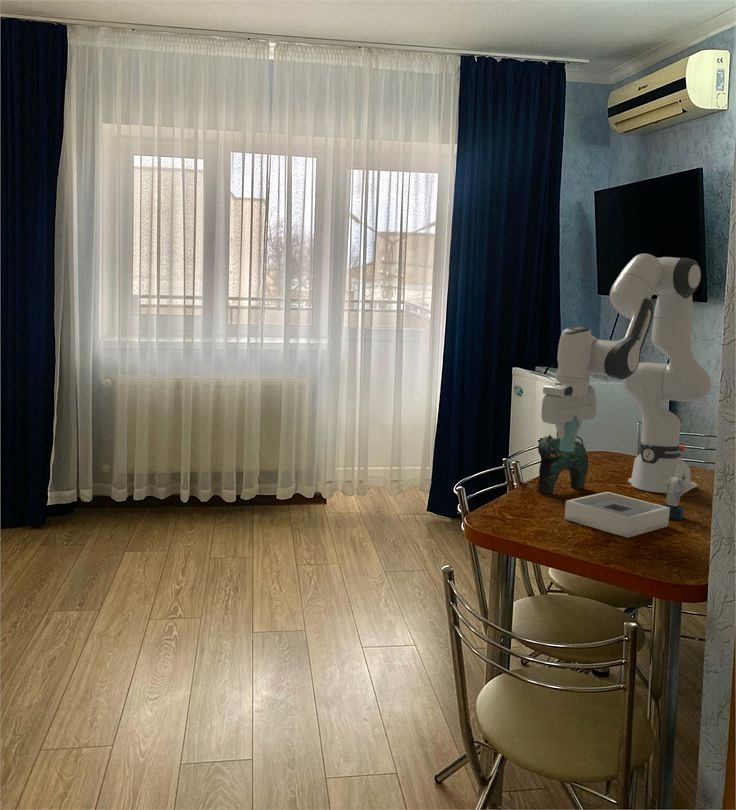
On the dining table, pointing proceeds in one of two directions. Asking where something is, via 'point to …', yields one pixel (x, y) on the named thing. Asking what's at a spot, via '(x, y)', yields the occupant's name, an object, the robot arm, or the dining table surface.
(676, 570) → the dining table surface
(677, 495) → the watch
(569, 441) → the peg
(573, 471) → the ceramic cat
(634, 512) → the open box
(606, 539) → the dining table surface
